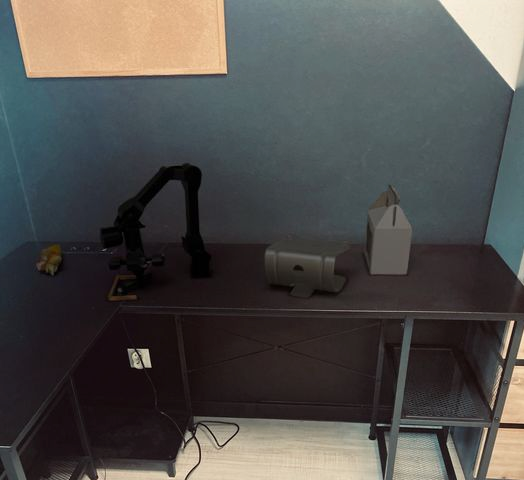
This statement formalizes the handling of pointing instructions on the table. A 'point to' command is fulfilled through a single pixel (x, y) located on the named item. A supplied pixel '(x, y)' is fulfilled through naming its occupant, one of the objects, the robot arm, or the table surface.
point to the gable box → (387, 236)
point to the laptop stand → (304, 265)
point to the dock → (112, 291)
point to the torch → (50, 259)
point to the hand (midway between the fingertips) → (141, 284)
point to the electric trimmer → (133, 284)
